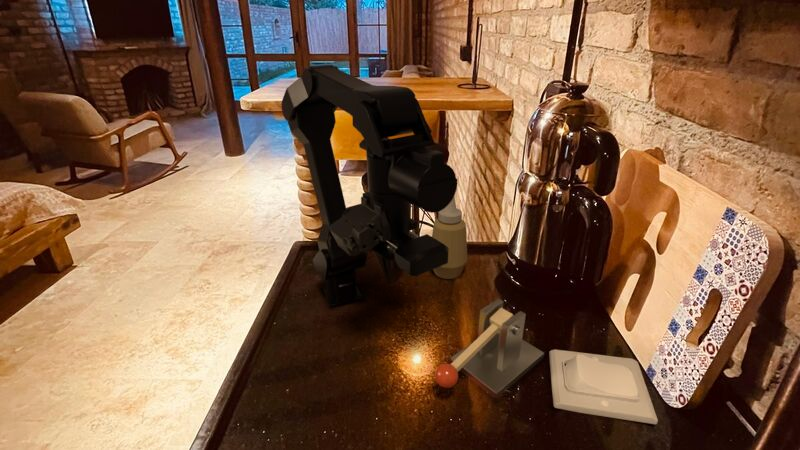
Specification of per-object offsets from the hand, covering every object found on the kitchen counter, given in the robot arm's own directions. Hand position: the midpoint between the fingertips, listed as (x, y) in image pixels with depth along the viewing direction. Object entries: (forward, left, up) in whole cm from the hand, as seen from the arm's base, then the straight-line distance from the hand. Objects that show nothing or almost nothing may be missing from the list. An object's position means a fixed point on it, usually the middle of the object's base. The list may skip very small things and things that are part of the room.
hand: (392, 283), depth 61 cm
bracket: (+9, +14, -13) cm, 21 cm away
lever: (+11, +9, -8) cm, 16 cm away
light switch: (+19, +25, -13) cm, 34 cm away
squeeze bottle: (-17, +19, -13) cm, 29 cm away
